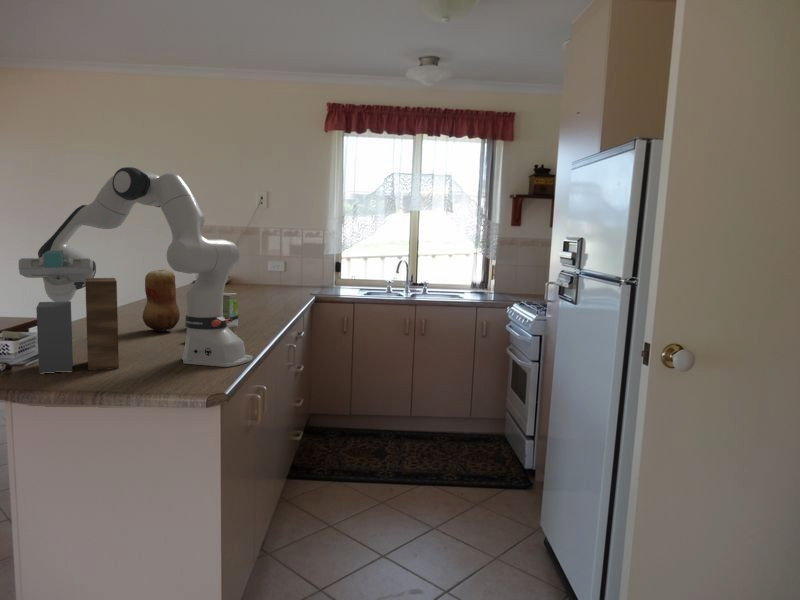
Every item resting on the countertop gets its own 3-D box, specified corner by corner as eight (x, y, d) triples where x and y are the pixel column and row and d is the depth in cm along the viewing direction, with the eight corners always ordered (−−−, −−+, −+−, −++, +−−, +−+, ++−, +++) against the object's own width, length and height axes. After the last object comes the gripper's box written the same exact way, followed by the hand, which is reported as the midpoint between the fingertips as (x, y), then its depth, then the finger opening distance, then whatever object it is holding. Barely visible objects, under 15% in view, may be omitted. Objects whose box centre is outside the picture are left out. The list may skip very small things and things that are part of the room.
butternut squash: (135, 332, 223) (134, 269, 220) (159, 327, 236) (158, 267, 233) (164, 335, 219) (163, 271, 216) (187, 330, 232) (186, 269, 229)
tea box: (238, 326, 245) (238, 292, 244) (229, 330, 236) (229, 295, 234) (205, 324, 247) (205, 291, 245) (194, 328, 237) (194, 293, 235)
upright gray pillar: (42, 365, 169) (39, 302, 166) (73, 362, 172) (70, 301, 170) (39, 374, 158) (36, 307, 156) (72, 372, 162) (69, 306, 160)
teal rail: (49, 263, 177) (48, 250, 177) (63, 263, 179) (63, 250, 179) (44, 267, 160) (43, 253, 159) (60, 267, 162) (60, 253, 161)
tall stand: (88, 361, 174) (85, 278, 171) (116, 359, 178) (114, 277, 175) (88, 370, 164) (85, 281, 161) (118, 368, 168) (116, 281, 165)
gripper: (20, 266, 182) (15, 246, 170) (92, 266, 192) (92, 247, 180) (20, 284, 180) (14, 265, 168) (93, 283, 189) (92, 265, 178)
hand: (55, 256), depth 174 cm, fingers closed on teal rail, 4 cm apart
